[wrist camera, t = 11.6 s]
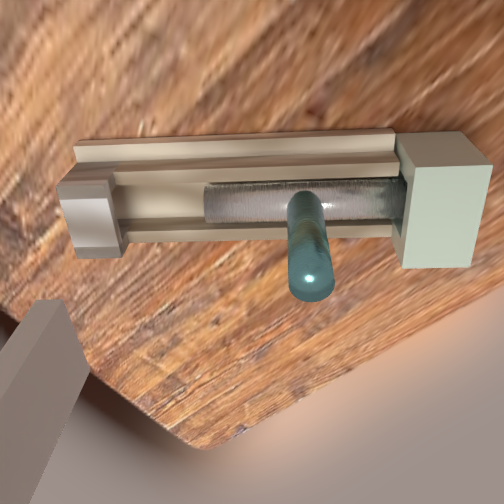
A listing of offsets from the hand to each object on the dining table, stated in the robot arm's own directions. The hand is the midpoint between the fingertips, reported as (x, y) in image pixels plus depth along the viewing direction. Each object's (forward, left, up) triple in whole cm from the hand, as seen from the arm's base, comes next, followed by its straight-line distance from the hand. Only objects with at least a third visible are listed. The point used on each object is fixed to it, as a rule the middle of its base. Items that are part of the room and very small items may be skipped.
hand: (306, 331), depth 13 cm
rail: (+10, -5, -31) cm, 33 cm away
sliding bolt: (+10, +3, -29) cm, 31 cm away
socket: (+10, +12, -31) cm, 35 cm away
